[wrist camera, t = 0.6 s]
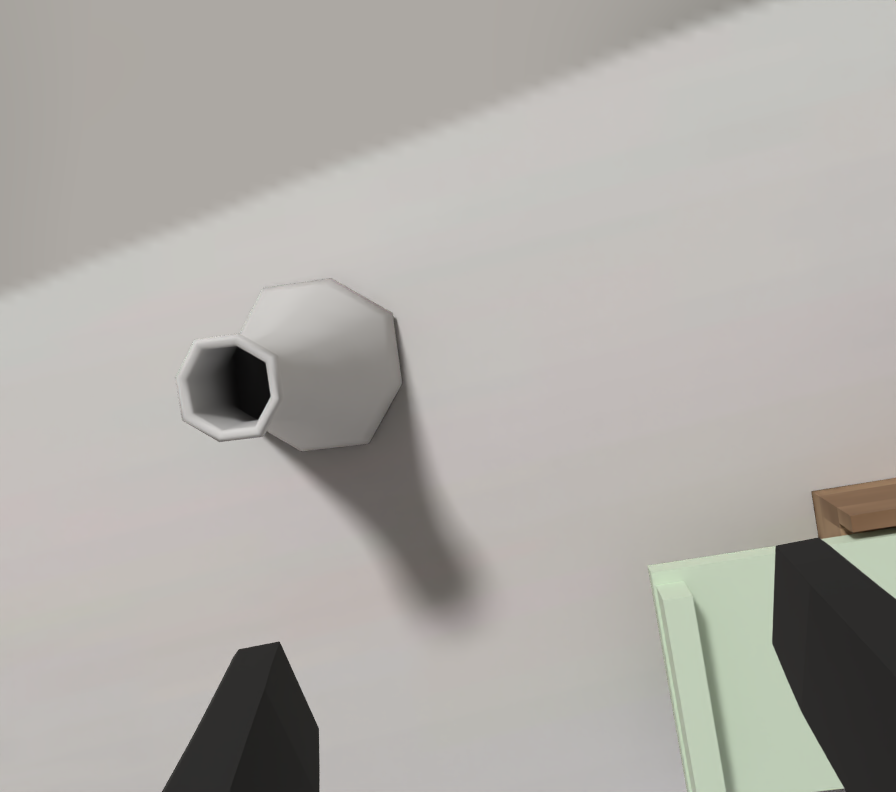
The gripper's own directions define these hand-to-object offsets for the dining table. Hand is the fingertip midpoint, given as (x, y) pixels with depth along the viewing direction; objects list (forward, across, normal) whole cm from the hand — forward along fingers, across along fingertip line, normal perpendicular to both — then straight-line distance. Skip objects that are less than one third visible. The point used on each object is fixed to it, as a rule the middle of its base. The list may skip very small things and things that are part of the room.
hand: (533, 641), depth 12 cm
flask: (+21, +6, +6) cm, 23 cm away
